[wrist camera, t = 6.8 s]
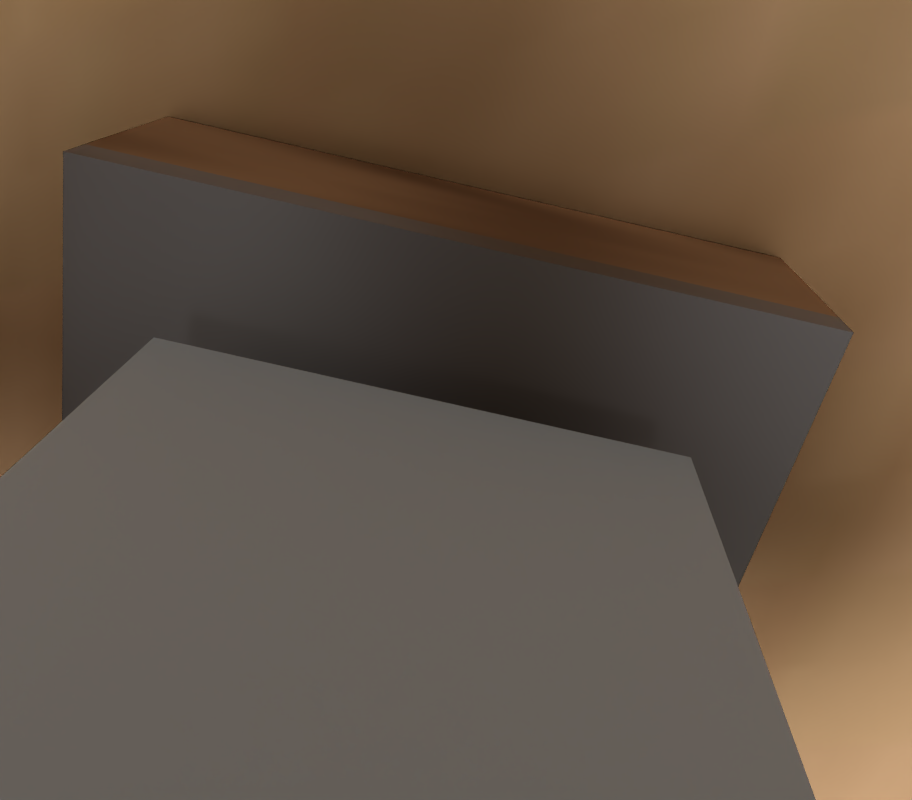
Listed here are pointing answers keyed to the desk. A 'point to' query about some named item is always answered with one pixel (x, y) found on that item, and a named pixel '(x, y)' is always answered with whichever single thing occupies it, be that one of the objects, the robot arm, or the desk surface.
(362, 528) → the cube
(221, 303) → the base
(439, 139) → the desk surface
